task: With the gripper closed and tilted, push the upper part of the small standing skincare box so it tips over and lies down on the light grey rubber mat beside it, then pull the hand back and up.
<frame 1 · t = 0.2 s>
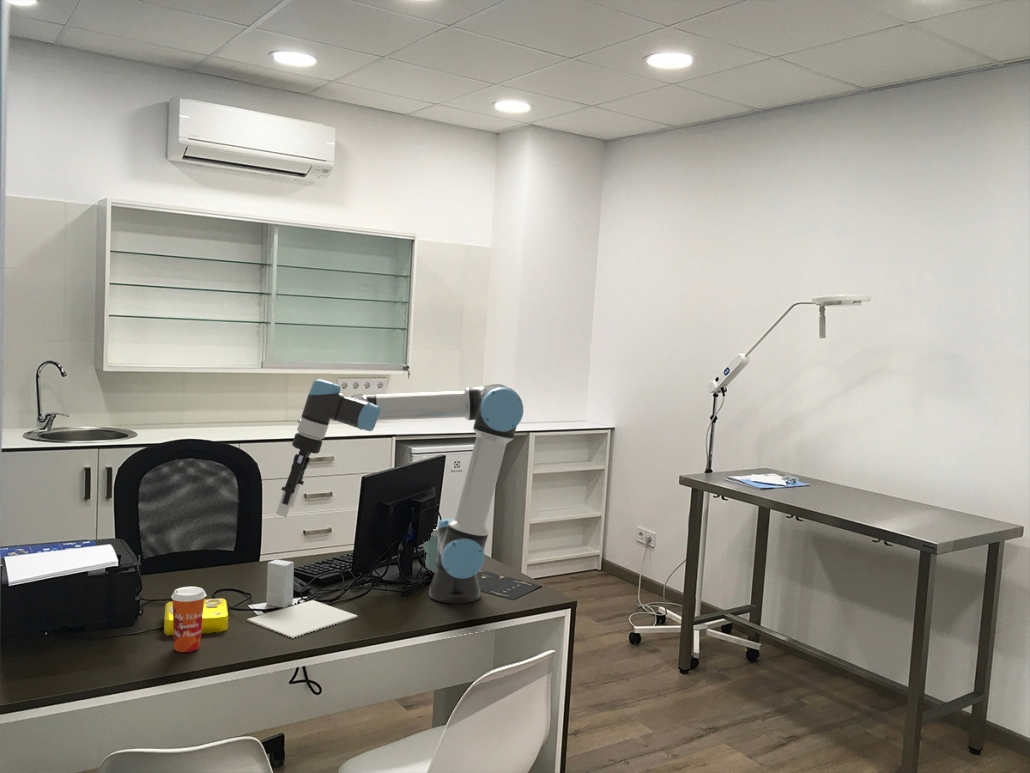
hand: (284, 510, 229), 28 cm above the table, tool tilted 15°, fingers open, 13 cm apart
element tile: (196, 625, 218), on the table
paper cup: (187, 649, 202), on the table
skincare box: (279, 605, 236), on the table
mat: (303, 619, 226), on the table
disposable coffee cup: (436, 572, 276), on the table
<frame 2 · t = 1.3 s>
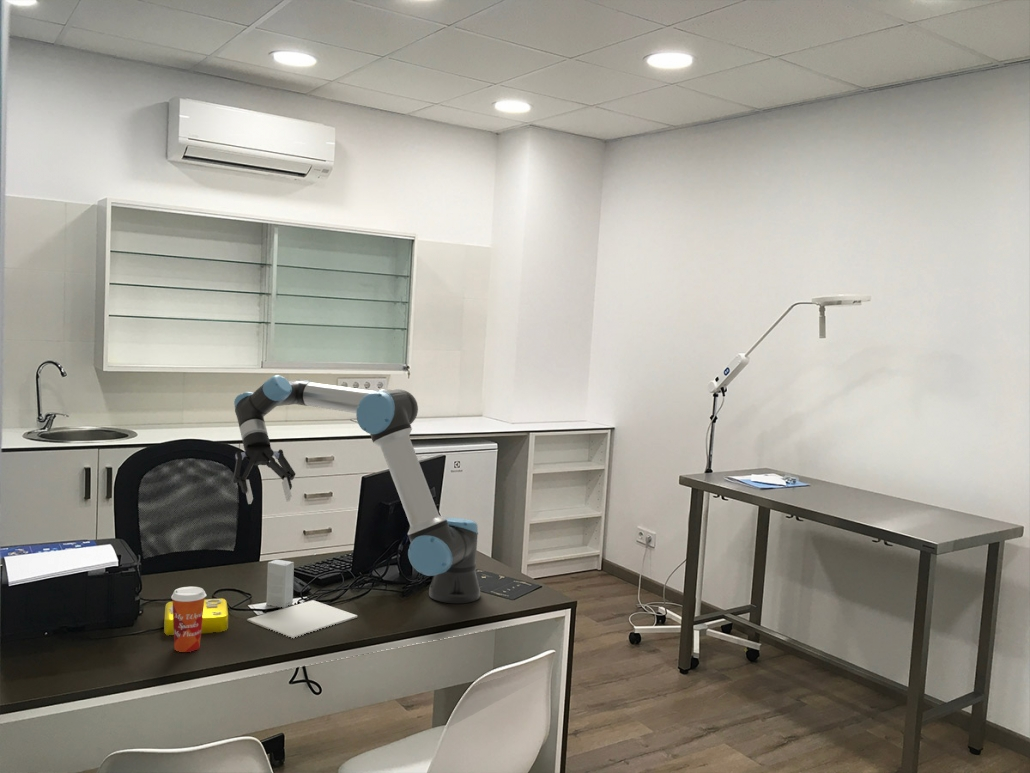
hand: (270, 500, 243), 27 cm above the table, tool tilted 45°, fingers open, 10 cm apart
nothing on the table moved.
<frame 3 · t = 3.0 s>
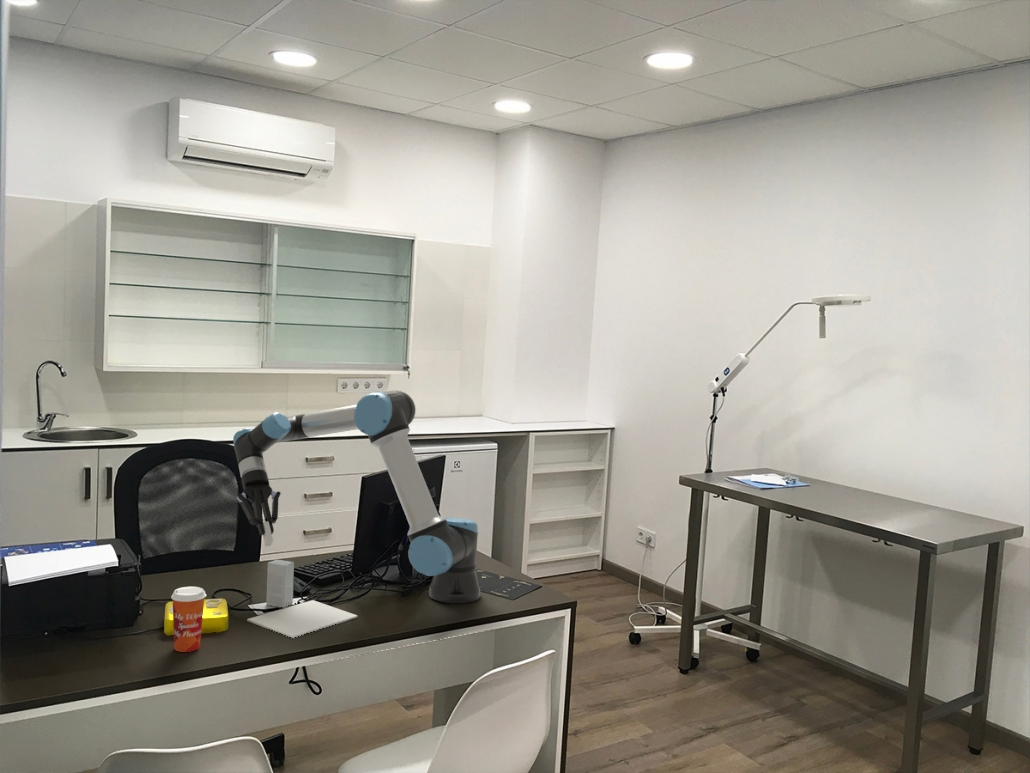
hand: (269, 543, 243), 15 cm above the table, tool tilted 45°, fingers closed
nothing on the table moved.
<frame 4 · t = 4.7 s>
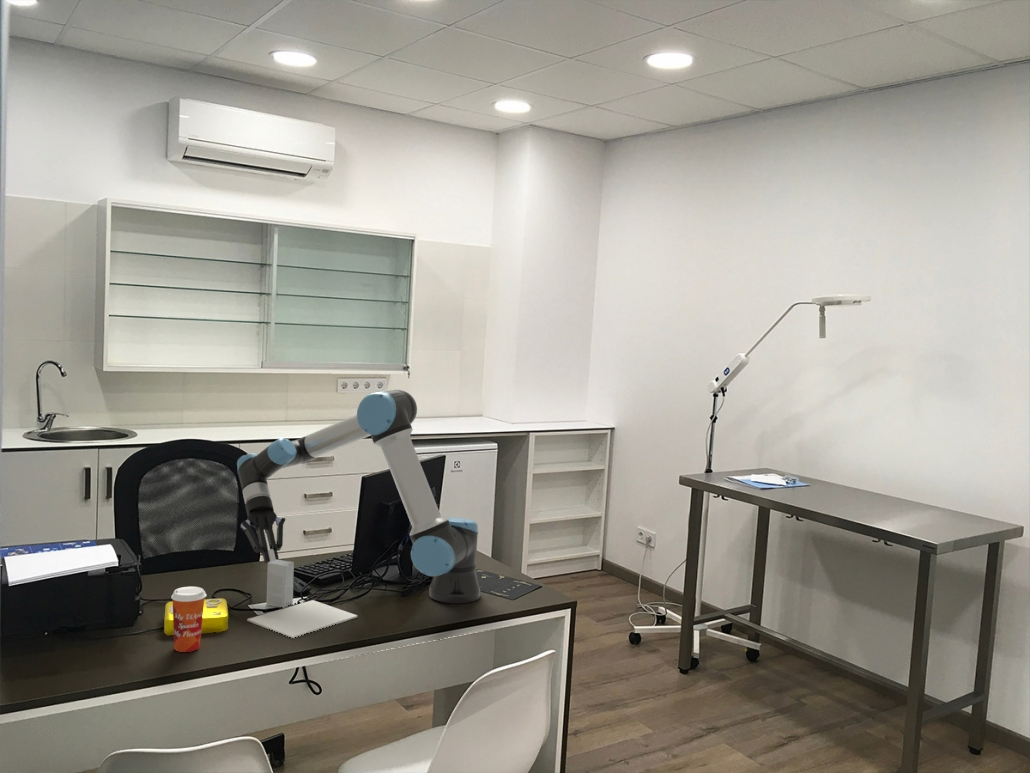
hand: (274, 571, 239), 8 cm above the table, tool tilted 45°, fingers closed
skincare box: (279, 605, 236), on the table, touching gripper
everything else where it was.
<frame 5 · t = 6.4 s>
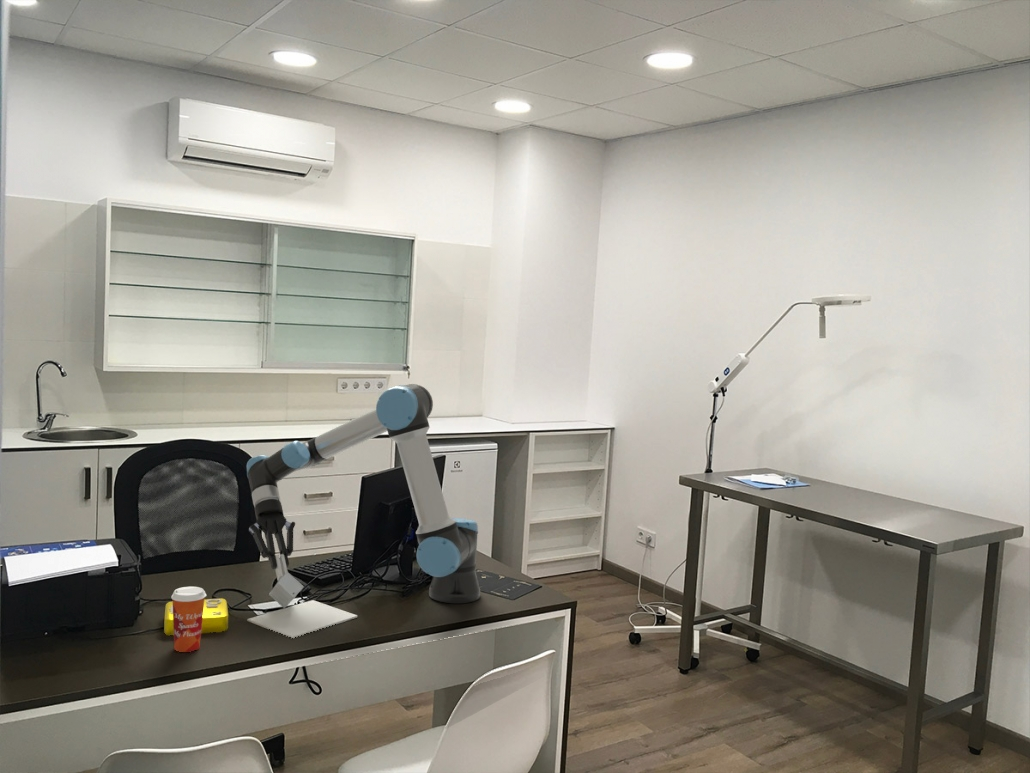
hand: (282, 577, 231), 9 cm above the table, tool tilted 45°, fingers closed, pressing on skincare box
skincare box: (281, 595, 234), point 3 cm above the table, touching gripper
everything else where it was.
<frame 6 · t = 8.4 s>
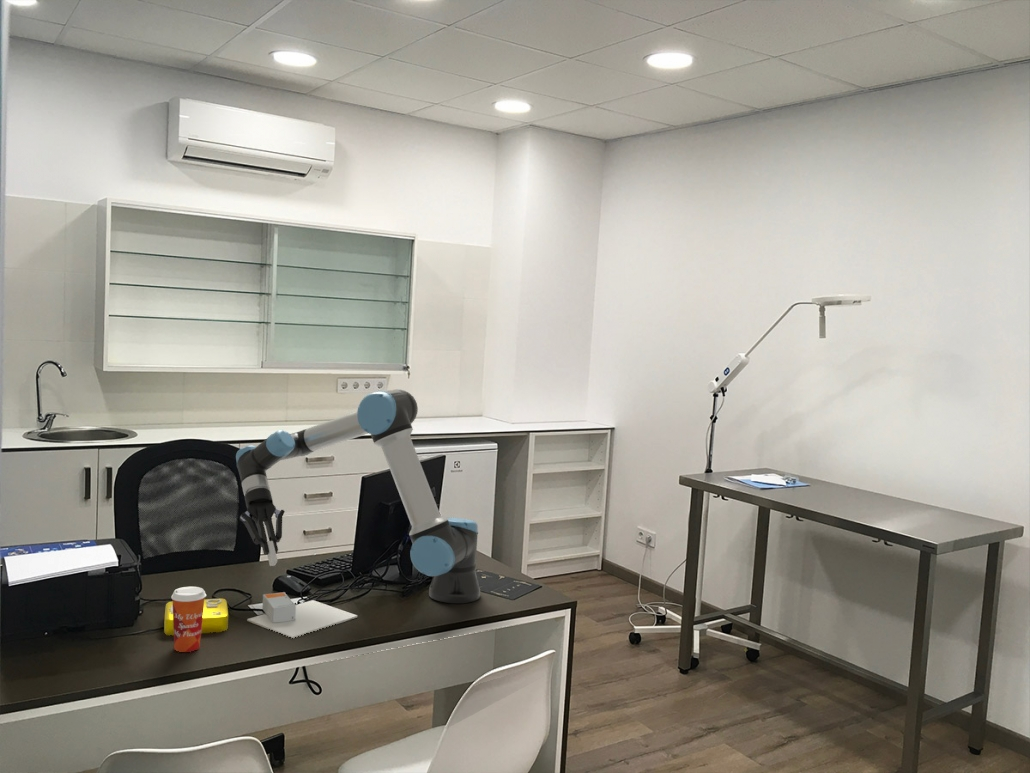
hand: (273, 563, 240), 10 cm above the table, tool tilted 45°, fingers closed
skincare box: (272, 599, 231), point 3 cm above the table, touching mat
everything else where it was.
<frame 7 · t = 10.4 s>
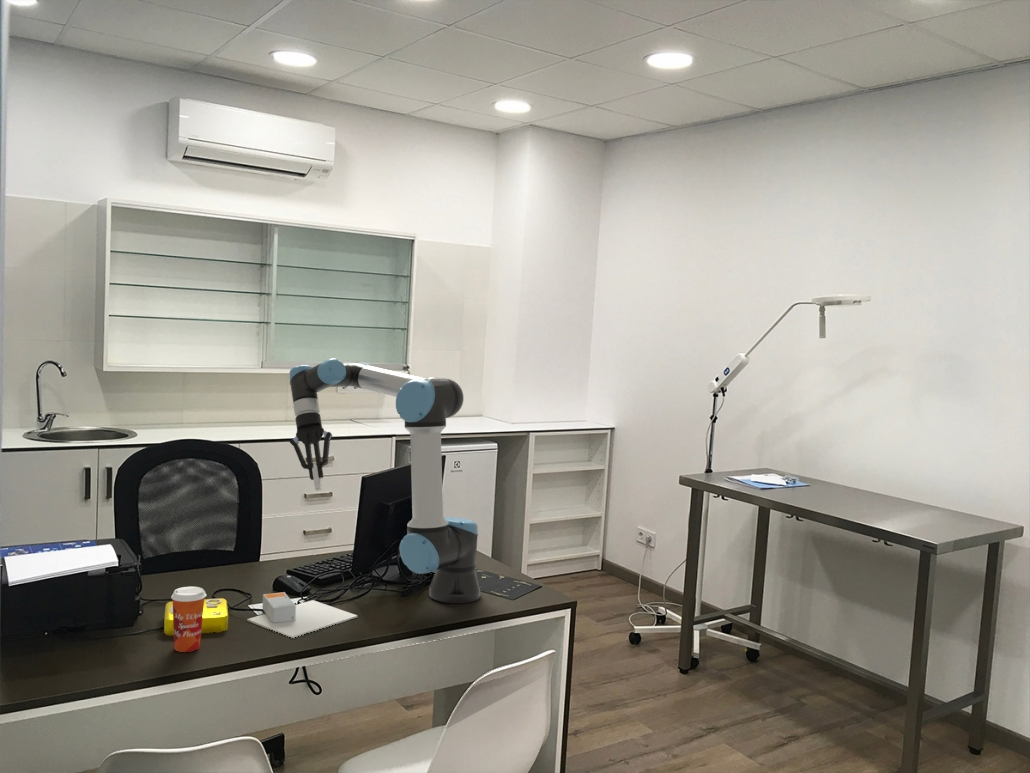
hand: (318, 489, 255), 29 cm above the table, tool tilted 25°, fingers closed
nothing on the table moved.
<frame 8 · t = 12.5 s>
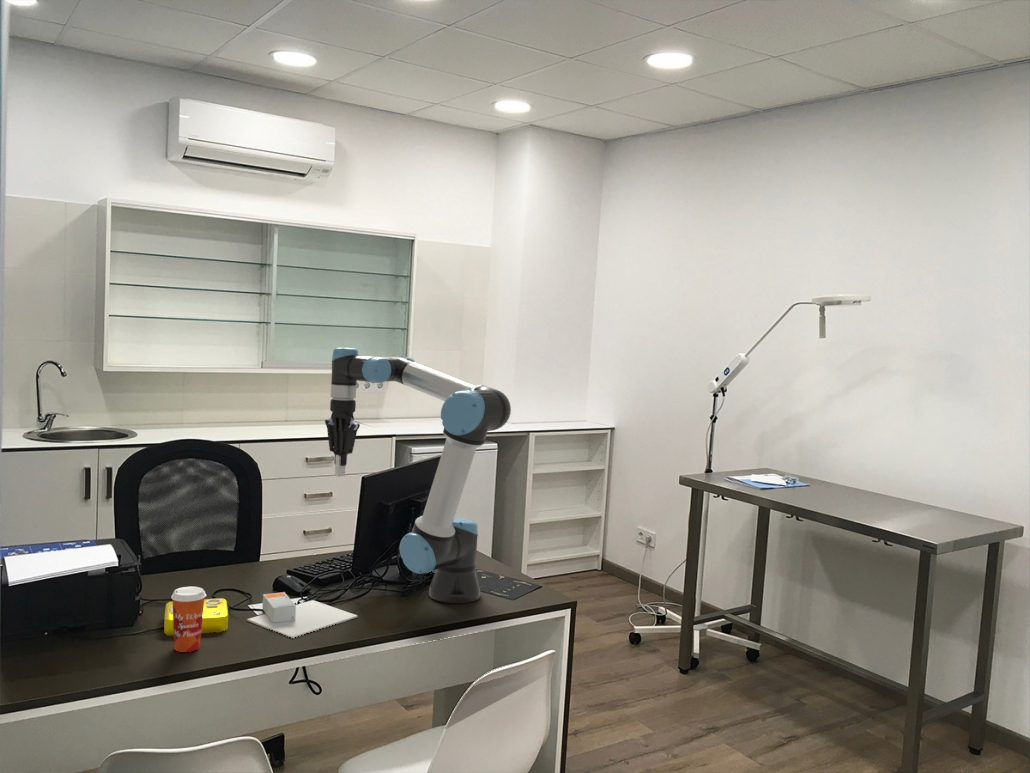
hand: (339, 475, 258), 32 cm above the table, tool pointing down, fingers closed
nothing on the table moved.
at the end: skincare box tilted 91°; skincare box touching mat; skincare box 11.7 cm from the mat (horizontally) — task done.
